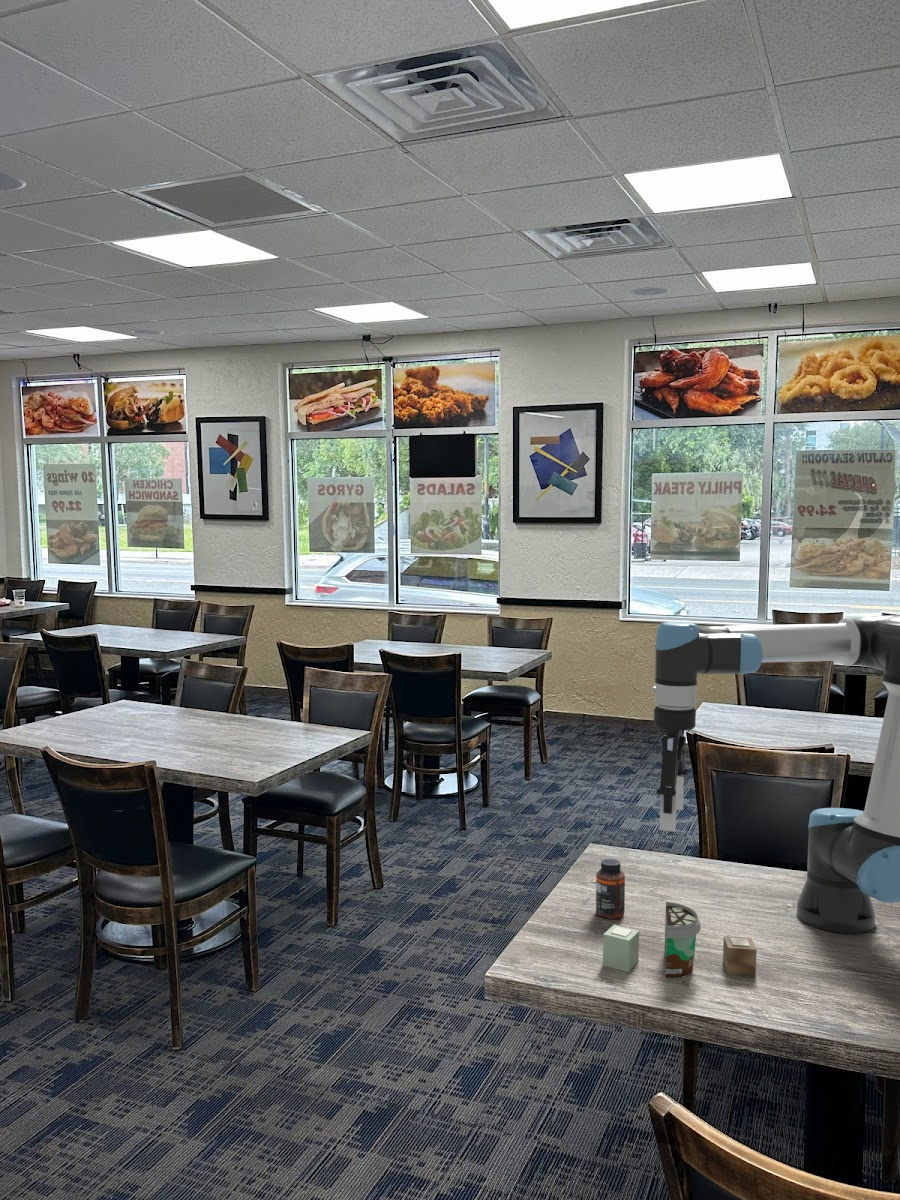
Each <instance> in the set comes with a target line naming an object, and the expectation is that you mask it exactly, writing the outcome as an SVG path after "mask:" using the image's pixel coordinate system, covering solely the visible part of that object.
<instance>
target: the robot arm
mask: <svg viewBox="0 0 900 1200" xmlns="http://www.w3.org/2000/svg"><path fill="white" fill-rule="evenodd" d="M654 650H655V660H654V661H655V662H654V663H655V667H654V668H655V670H654V671H655V674H654V675H655V677H654V686H652V687H651V689H650V690H651V692H652V693H655V694H654V703H655V704H656V705H655V707H654V708H653V725H654V727H656V728H658V729H660V730H665V731H666V733H665V734H664V735H663V737H662V738H661V747H662V751H661V758H662V761H661V771H660V785H659V789H658V788H657V789H656V795H660V804H659V805H660V806H659V807H660V809H659V810H660V811H659V830H660V831H669V832H676V827H677V822H676V821H677V811H683V810H684V788H685V787H684V785H685V782H684V781H685V776H688V775H689V774H688V771H689V770H688V769H685V768H686V764H685V763H686V759H685V758H686V757H685V751H686V742H687V741H686V740H687V738H686V737H687V736H685V731H690V730H694V729H695V727H696V724H697V723H696V719H697V718H696V717H697V716H696V715H697V709H696V708H695V706H696V705H697V700H698V699H697V697H698V696H697V694H698V693H697V692H698V679H697V678H698V675H706V674H707V675H708V674H710V675H712V674H713V675H717V674H718V675H719V674H721V675H723V674H724V675H734V674H735V675H739V676H741V675H743V674H753V673H756V672H757V671H758V670H759V669H760V667H761V665H762V663H792V662H797V663H798V662H799V663H800V662H801V663H802V662H803V663H804V662H806V663H807V662H839V663H841V664H842V665H844V666H846V667H847V666H848V667H849V666H858V667H859V666H860V667H867V668H872V669H875V670H876V669H877V670H880V671H883V677H882V684H883V686H884V687H885V688H886V689H887V691H888V697H887V701H886V704H885V705H886V706H885V710H884V714H883V720H882V725H881V730H880V734H879V739H878V744H877V748H876V752H875V753H876V754H875V758H874V762H873V767H872V772H871V776H870V781H869V786H868V792H867V797H866V801H865V806H864V810H859V809H855V808H854V809H853V808H843V807H823V808H817V809H814V810H813V811H812V812H810V814H809V821H808V825H807V829H808V838H807V839H808V841H807V842H808V844H807V845H808V846H807V866H806V867H807V869H806V870H807V871H806V879H805V883H804V884H803V887H802V889H801V892H800V894H799V897H798V899H797V903H796V916H797V917H798V919H800V920H801V921H802V922H804V923H805V924H808V925H810V926H811V927H814V928H817V929H821V930H824V931H828V932H834V933H838V934H839V933H840V934H862V933H866V932H869V931H872V930H873V929H874V928H875V926H876V925H875V924H876V912H875V908H874V906H873V902H872V899H875V900H876V901H878V902H882V903H885V904H896V903H900V614H889V615H877V616H865V617H856V618H853V617H852V618H849V617H848V618H843V619H841V620H839V621H838V622H837V623H812V624H810V623H809V624H807V623H805V624H803V623H801V624H798V623H797V624H795V623H794V624H757V625H755V624H753V625H752V624H750V625H749V624H748V625H747V624H746V625H745V624H744V625H701V624H696V623H694V622H683V621H682V622H681V621H665V622H662V623H660V624H659V625H657V628H656V636H655V645H654Z"/></svg>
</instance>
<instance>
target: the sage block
mask: <svg viewBox="0 0 900 1200" xmlns="http://www.w3.org/2000/svg"><path fill="white" fill-rule="evenodd" d="M602 941H603V943H602V944H603V948H602V966H605V967H608V968H612V969H616V970H619V971H622V972H626V973H629V972H630V971H631V970H632V969H633V968H634V967H635V966H636V965H637V964H638V963H639V958H640V957H639V954H640V953H639V952H640V930H637V929H633V928H629V927H625V926H621V925H619V924H618V925H617V924H613V925H612V926H610V928H609V929H608V930H606V931H605V932H604V933H603V940H602Z"/></svg>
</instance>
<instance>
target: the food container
mask: <svg viewBox="0 0 900 1200" xmlns="http://www.w3.org/2000/svg"><path fill="white" fill-rule="evenodd" d="M664 917H665V919H664V920H665V924H664V927H665V928H664V968H665V970H664V971H665V978H666V979H667V978H670V979H676V978H678V979H679V978H683V977H687V976H689V975H690V974H691V973H693V971H694V969H693V968H694V958H695V950H696V943H697V942H696V941H697V935H698V934H699V933H700V931H701V930H702V927H701V920H700V917H699V915H698V914H697V912H696V911H695V910H694V909H692V908H690V907H688V906H687V905H684V904H681V903H677V902H672V901H671V902H670V901H666V902H665V916H664Z"/></svg>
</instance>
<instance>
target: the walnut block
mask: <svg viewBox="0 0 900 1200" xmlns="http://www.w3.org/2000/svg"><path fill="white" fill-rule="evenodd" d="M722 943H723V946H722V947H723V948H722V963H723V967H724V969H725V972H726V974H727V975H738V976H751V977H753V976H754V977H756V974H757V973H756V970H757V947H756V946H755V943H754V941H753V938H752V937H742V936H728V935H724V936H723V942H722Z"/></svg>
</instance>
